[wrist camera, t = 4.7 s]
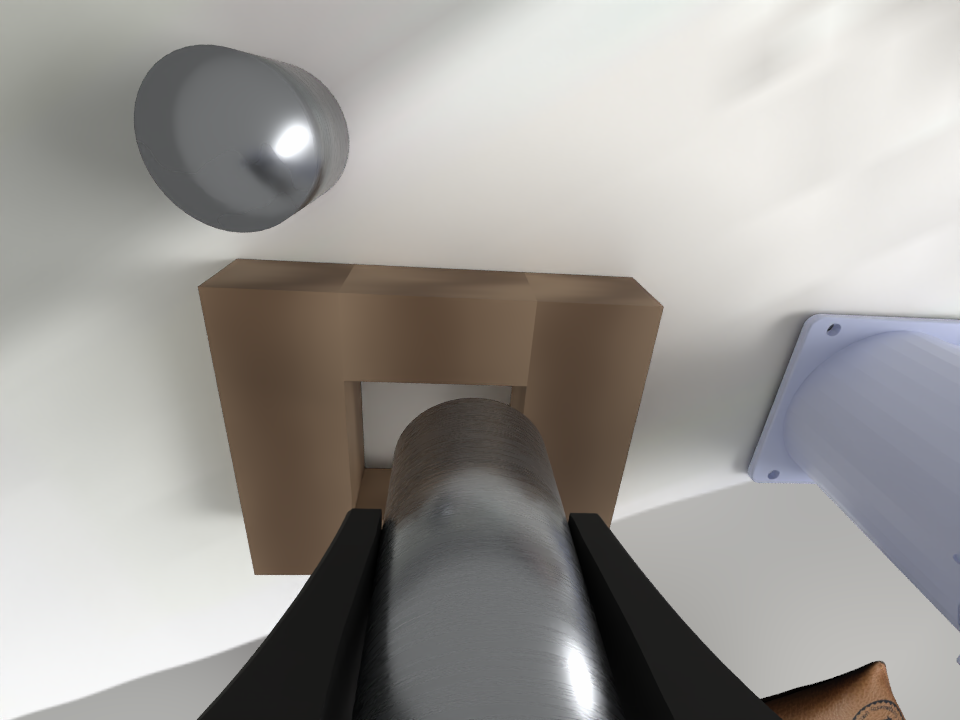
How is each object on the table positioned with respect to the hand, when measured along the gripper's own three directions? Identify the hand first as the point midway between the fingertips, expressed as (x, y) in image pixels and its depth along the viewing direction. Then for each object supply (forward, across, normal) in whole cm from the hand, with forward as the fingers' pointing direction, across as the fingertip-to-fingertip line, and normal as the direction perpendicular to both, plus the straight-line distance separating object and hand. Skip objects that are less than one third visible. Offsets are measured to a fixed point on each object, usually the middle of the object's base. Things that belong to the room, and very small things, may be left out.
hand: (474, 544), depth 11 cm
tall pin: (+2, 0, 0) cm, 3 cm away
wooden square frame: (+9, +1, +3) cm, 10 cm away
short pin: (+10, +6, -7) cm, 13 cm away
